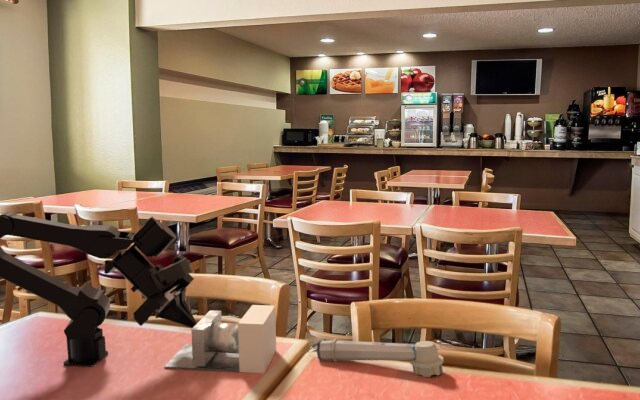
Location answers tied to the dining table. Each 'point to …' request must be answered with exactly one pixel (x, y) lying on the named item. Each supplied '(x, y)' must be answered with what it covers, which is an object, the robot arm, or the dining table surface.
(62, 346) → the dining table surface
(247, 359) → the socket
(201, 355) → the grey piece
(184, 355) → the plate
